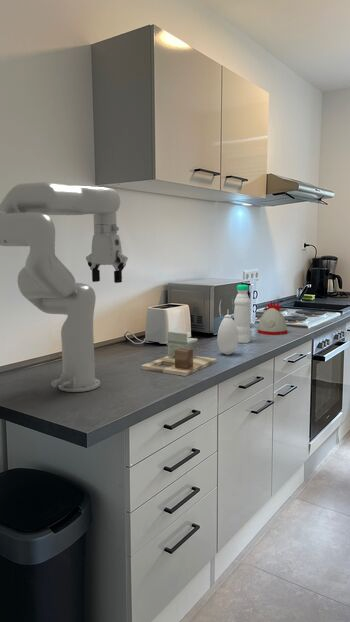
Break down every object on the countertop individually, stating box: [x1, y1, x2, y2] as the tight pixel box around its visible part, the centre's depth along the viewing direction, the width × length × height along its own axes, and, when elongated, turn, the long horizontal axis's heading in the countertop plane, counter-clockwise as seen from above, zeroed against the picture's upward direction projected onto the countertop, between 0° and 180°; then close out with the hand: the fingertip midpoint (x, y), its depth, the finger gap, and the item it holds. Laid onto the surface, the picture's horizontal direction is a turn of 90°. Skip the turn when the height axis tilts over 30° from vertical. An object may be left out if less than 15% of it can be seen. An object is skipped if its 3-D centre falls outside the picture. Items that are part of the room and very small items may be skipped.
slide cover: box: [167, 331, 199, 357], centre depth 177 cm, size 8×8×9 cm
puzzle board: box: [140, 355, 218, 377], centre depth 171 cm, size 22×18×1 cm
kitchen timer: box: [257, 301, 288, 336], centre depth 230 cm, size 14×14×15 cm
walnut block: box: [175, 347, 194, 369], centre depth 163 cm, size 4×4×6 cm
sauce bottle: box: [216, 310, 239, 356], centre depth 186 cm, size 8×8×18 cm
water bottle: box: [233, 284, 252, 344], centre depth 208 cm, size 7×7×25 cm
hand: (106, 282), depth 162 cm, fingers open, 9 cm apart
